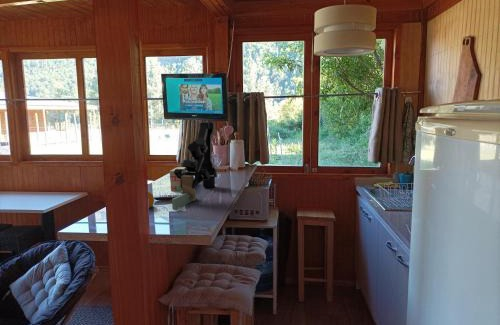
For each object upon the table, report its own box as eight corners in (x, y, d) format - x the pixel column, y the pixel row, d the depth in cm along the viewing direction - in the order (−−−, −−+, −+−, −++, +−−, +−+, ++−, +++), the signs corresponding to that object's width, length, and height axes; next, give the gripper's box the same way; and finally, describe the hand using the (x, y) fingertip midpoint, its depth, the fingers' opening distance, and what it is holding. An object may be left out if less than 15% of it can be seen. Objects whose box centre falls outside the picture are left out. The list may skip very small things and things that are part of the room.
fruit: (146, 212, 173) (144, 191, 171) (124, 211, 176) (122, 190, 175) (159, 205, 184) (157, 185, 182) (138, 204, 187) (137, 185, 186)
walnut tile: (185, 199, 190) (183, 175, 188) (195, 199, 188) (193, 175, 186) (182, 200, 188) (181, 176, 186) (193, 200, 186) (191, 176, 184)
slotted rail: (193, 198, 194) (193, 189, 193) (196, 199, 193) (195, 189, 192) (172, 209, 175) (171, 198, 175) (175, 209, 175) (174, 199, 174)
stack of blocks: (184, 183, 236) (182, 164, 234) (193, 183, 234) (192, 164, 233) (170, 191, 215) (169, 170, 213) (181, 191, 214) (179, 170, 212)
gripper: (174, 153, 191) (163, 178, 183) (206, 153, 185) (196, 179, 176) (183, 165, 200) (173, 190, 191) (214, 166, 193) (205, 192, 185)
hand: (186, 188), depth 186 cm, fingers closed on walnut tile, 6 cm apart
